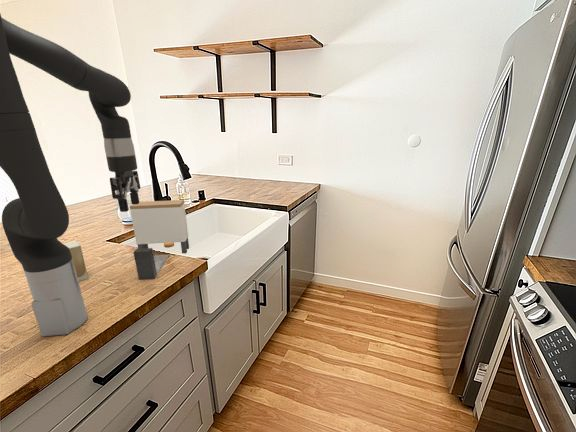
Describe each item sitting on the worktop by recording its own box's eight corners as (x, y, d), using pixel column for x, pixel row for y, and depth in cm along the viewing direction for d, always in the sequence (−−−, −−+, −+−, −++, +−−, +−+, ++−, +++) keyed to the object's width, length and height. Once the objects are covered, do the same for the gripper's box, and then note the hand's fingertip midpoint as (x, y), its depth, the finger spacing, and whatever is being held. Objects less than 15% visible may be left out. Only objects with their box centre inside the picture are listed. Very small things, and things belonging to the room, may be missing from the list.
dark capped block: (154, 278, 97) (149, 251, 94) (138, 279, 96) (133, 252, 93) (168, 257, 112) (164, 232, 109) (154, 257, 112) (150, 233, 109)
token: (172, 247, 121) (172, 244, 121) (162, 248, 121) (162, 245, 121) (175, 244, 125) (175, 241, 125) (166, 244, 125) (165, 241, 124)
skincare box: (69, 276, 99) (60, 243, 95) (84, 272, 102) (76, 239, 98) (73, 283, 95) (64, 249, 91) (89, 278, 97) (80, 245, 94)
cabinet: (186, 253, 115) (180, 204, 109) (138, 256, 113) (129, 206, 107) (189, 247, 121) (183, 199, 115) (144, 249, 119) (135, 201, 113)
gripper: (123, 156, 79) (134, 213, 84) (142, 151, 93) (150, 201, 98) (94, 157, 79) (106, 214, 83) (118, 152, 92) (127, 202, 97)
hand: (130, 207), depth 90 cm, fingers open, 8 cm apart
